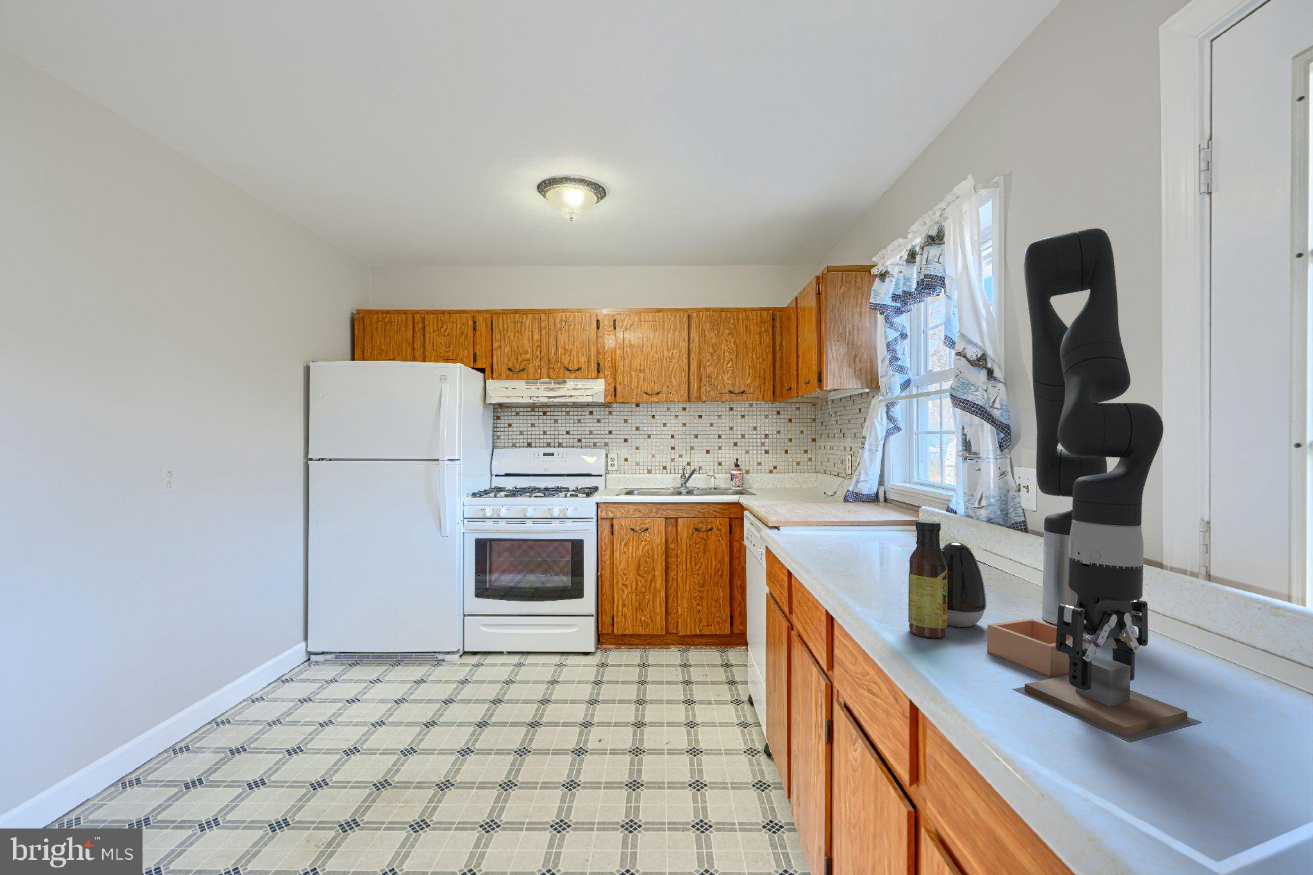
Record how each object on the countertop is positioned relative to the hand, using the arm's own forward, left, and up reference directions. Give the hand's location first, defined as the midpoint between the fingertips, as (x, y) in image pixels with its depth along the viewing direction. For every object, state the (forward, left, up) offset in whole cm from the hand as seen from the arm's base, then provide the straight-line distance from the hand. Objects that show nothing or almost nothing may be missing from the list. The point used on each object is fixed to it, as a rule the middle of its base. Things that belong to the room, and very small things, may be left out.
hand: (1101, 683), depth 72 cm
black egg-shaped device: (-11, -32, -4) cm, 34 cm away
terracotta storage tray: (-7, -13, -3) cm, 15 cm away
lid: (0, 0, -3) cm, 3 cm away
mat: (0, 0, -3) cm, 3 cm away
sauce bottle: (-1, -29, -4) cm, 29 cm away
